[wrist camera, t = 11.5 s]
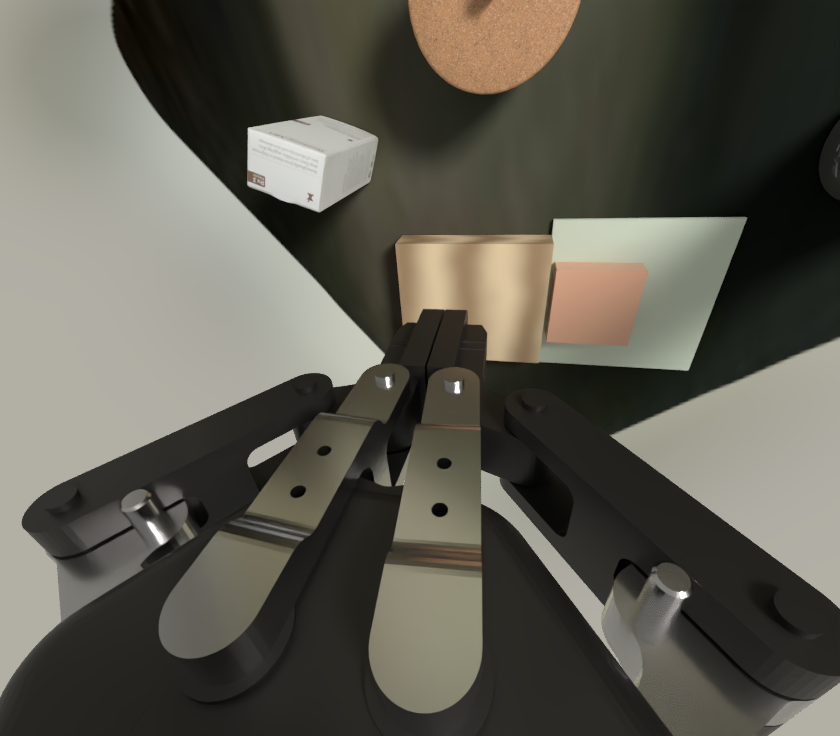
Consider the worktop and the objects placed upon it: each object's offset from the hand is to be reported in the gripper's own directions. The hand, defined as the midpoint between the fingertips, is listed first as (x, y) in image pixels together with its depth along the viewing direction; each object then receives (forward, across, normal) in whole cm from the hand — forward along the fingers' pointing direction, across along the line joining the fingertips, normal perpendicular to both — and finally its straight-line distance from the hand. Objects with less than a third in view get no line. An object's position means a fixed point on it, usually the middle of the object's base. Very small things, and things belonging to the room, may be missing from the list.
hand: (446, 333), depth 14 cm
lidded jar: (+29, 0, -12) cm, 32 cm away
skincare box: (+29, +14, -3) cm, 33 cm away
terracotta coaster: (+28, -11, +12) cm, 32 cm away
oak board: (+29, +2, +11) cm, 31 cm away
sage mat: (+29, -14, +11) cm, 34 cm away
